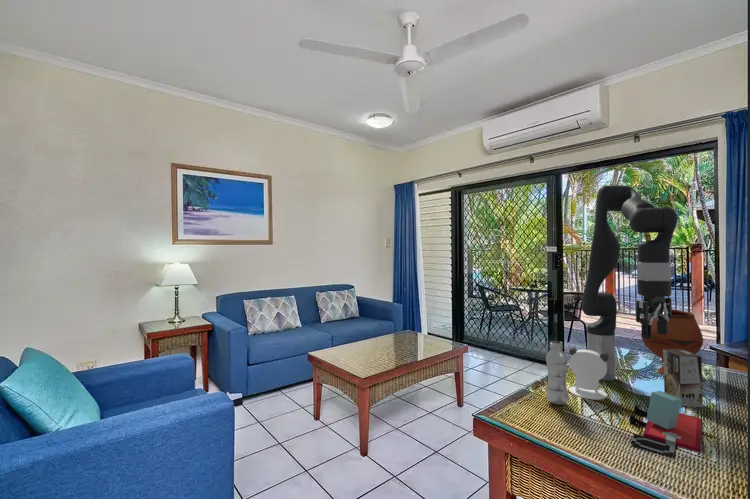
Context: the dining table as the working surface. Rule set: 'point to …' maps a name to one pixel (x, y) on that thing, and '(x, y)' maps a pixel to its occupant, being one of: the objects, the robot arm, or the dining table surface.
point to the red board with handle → (668, 434)
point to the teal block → (663, 409)
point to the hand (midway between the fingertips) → (654, 336)
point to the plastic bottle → (556, 374)
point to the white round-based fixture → (588, 373)
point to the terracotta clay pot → (675, 335)
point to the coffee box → (683, 376)
